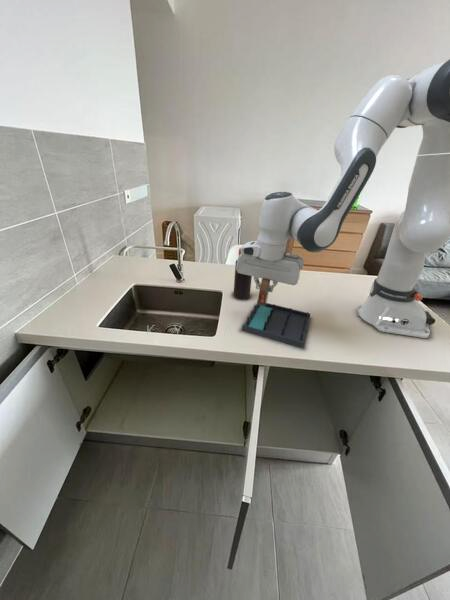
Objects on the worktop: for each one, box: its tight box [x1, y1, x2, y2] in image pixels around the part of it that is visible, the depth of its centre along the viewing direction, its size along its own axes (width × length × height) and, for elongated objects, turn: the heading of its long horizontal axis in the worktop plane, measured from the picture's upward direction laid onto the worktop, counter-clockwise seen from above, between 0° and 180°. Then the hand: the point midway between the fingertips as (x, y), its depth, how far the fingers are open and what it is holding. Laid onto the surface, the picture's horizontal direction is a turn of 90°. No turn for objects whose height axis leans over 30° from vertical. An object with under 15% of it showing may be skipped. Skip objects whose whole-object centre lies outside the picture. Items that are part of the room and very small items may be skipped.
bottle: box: [233, 247, 253, 300], centre depth 96 cm, size 7×7×20 cm
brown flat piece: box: [257, 278, 271, 306], centre depth 81 cm, size 15×3×8 cm, turn 165°
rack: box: [241, 300, 311, 349], centre depth 84 cm, size 20×18×4 cm
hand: (264, 289), depth 81 cm, fingers closed on brown flat piece, 3 cm apart
